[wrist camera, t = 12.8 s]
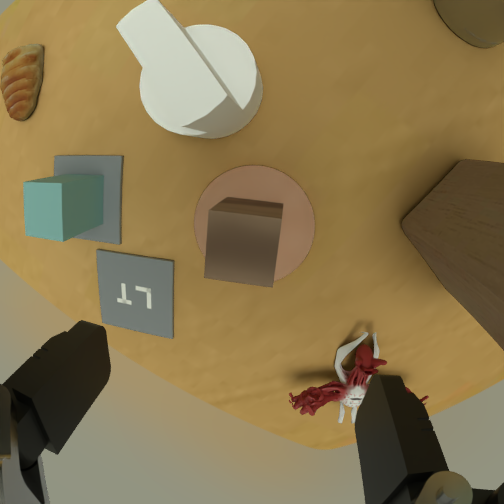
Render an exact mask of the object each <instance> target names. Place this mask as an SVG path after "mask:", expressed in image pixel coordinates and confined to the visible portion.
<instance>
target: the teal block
mask: <svg viewBox="0 0 504 504" xmlns="http://www.w3.org/2000/svg"><path fill="white" fill-rule="evenodd" d="M103 186H104V175H81V174H64V175H59V176H53V177H47V178H42V179H37V180H31V181H26V182H24V216H25V231H26V236H32V237H38V238H44V239H50V240H56V241H62V242H64V241H66V240H68V239H70V238H72V237H74V236H77V235H79V234H81V233H83V232H85V231H88V230H90V229H92V228H94V227H97V226H99V225H101V224H103Z"/></svg>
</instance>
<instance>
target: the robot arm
mask: <svg viewBox="0 0 504 504" xmlns="http://www.w3.org/2000/svg"><path fill="white" fill-rule="evenodd" d="M434 3H435V6H436V8H437V10H438V13H439V14H440V16H441V17H442V19H443V20H444V22H445V23H446V24H447V25H448V27H449V28H450V29H451V30H452V31H453V32H454V33H455V34H457V35H458V36H459V37H460V38H462V39H463V40H464V41H466V42H468V43H470V44H472V45H474V46H477V47H481V48H489V47H493V46H495V45H498V44H500V43H502V42H504V0H434ZM110 372H111V364H110V357H109V351H108V343H107V335H106V330H105V328H104V327H103V326H100V325H97V324H93V323H90V322H86V321H83V320H81V321H79V322H78V323H77V324H76V325H74V326H73V327H72V328H71V329H70V330H69V331H68V332H66V331H64V332H62V333H60V334H58V335H56V336H54V337H52V338H50V339H49V340H48V341H47V342H46V343H45V344H44V345H43V346H42V347H41V349H38V351H36V352H35V353H34V354H33V357H30V358H29V359H28V360H27V361H26V362H25V363H24V364H23V365H22V366H21V367H20V368H19V369H18V370H16V371H15V372H14V374H12V375H11V376H10V377H9V378H8V379H7V380H6V382H4V383H3V384H0V504H50V501H49V496H48V491H47V487H46V481H45V475H44V468H43V462H42V457H41V455H40V454H41V453H42V451H43V450H44V448H45V449H47V450H49V451H51V452H53V453H55V454H59V452H60V450H61V449H62V448H63V446H64V445H65V443H66V442H67V440H68V439H69V437H70V436H71V434H72V433H73V431H74V430H75V428H76V427H77V425H78V424H79V422H80V421H81V420H82V418H83V417H84V415H85V414H86V412H87V411H88V409H89V408H90V407H91V405H92V404H93V402H94V401H95V399H96V398H97V396H98V395H99V394H100V392H101V391H102V389H103V388H104V386H105V385H106V384H107V382H108V380H109V376H110ZM355 433H356V439H357V445H358V452H359V459H360V465H361V472H362V479H363V486H364V495H365V503H366V504H504V483H503V484H502V485H501V486H500V487H499V488H498V489H496V490H483V489H473V488H471V486H470V484H469V483H468V481H467V480H466V479H465V478H464V477H463V476H461V475H459V474H457V473H455V472H451V471H449V469H448V467H447V463H446V461H445V458H444V455H443V452H442V450H441V447H440V444H439V442H438V439H437V436H436V434H435V431H433V426H432V423H431V421H430V420H429V416H428V413H427V411H426V409H425V406H424V404H423V403H422V402H421V401H420V400H419V399H418V398H417V397H416V395H415V394H414V393H407V390H406V388H405V385H404V383H403V380H402V378H401V377H400V376H395V375H378V374H376V375H374V376H373V378H372V380H371V382H370V384H369V387H368V389H367V391H366V393H365V396H364V398H363V400H362V402H361V404H360V407H359V409H358V411H357V414H356V419H355Z"/></svg>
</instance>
